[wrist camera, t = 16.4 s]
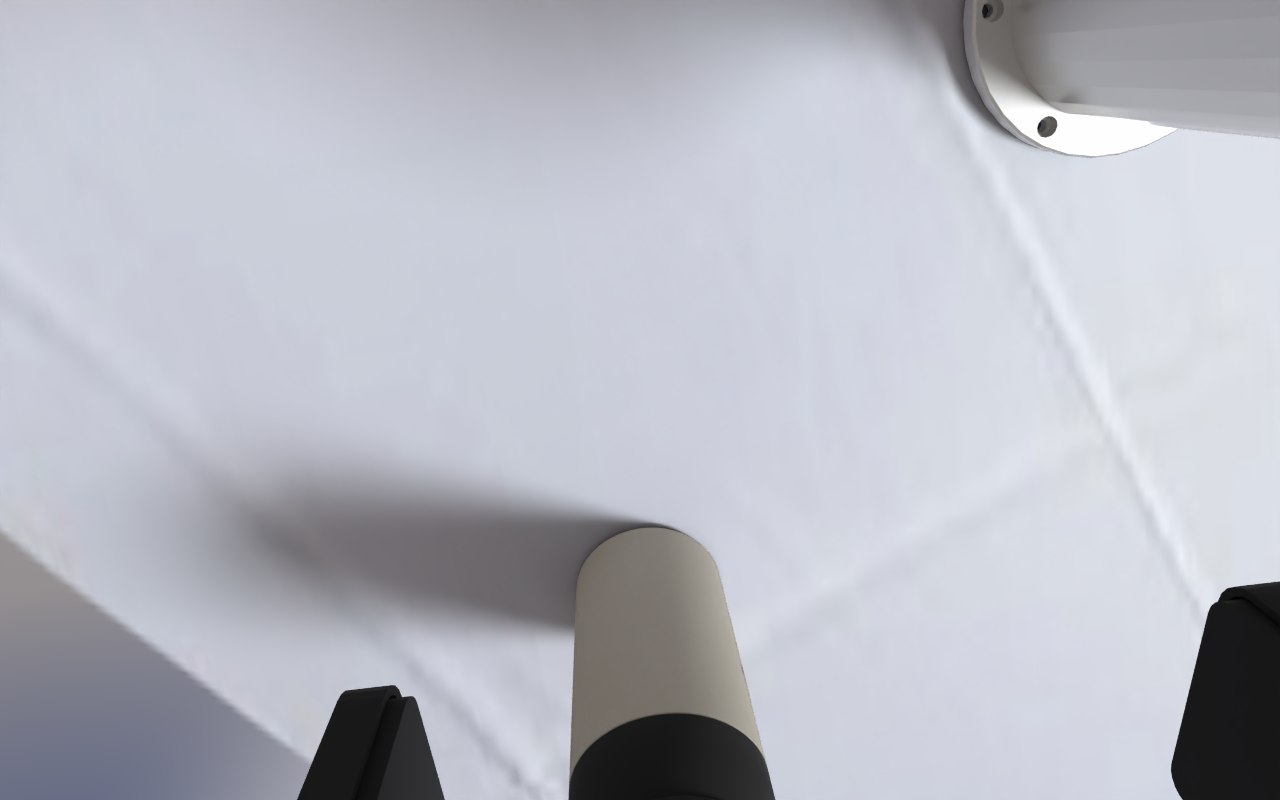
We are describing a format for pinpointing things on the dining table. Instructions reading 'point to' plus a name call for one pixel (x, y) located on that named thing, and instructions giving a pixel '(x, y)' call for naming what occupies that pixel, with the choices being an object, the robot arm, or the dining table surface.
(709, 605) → the travel mug
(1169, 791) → the dining table surface
